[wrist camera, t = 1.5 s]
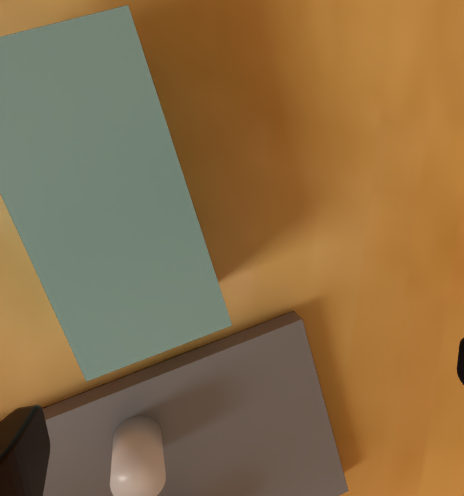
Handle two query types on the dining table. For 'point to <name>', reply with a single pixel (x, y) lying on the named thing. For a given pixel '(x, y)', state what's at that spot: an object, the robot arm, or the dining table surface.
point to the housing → (102, 193)
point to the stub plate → (203, 425)
